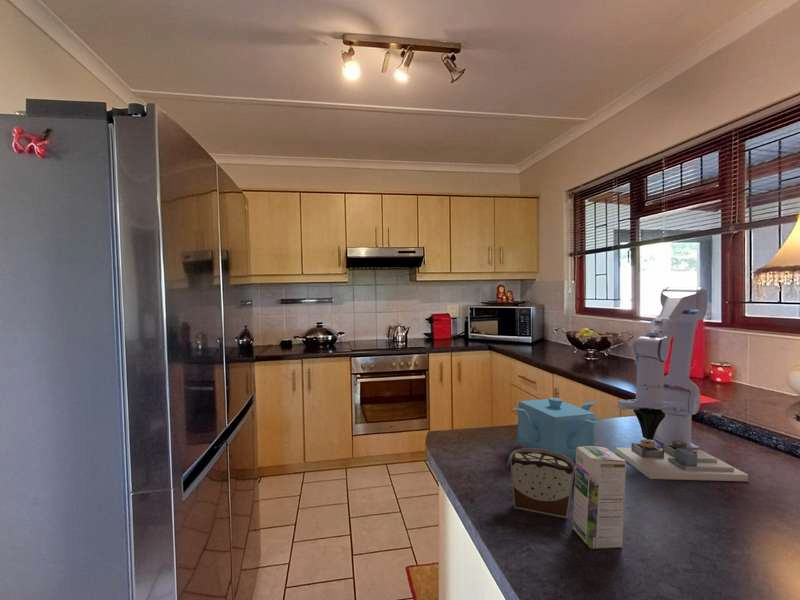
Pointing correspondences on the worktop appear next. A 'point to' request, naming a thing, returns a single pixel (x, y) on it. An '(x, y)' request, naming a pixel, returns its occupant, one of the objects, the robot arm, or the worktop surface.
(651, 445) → the copper button
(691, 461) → the block
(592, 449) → the syrup box
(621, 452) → the control panel
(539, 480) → the food container
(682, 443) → the black button
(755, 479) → the worktop surface
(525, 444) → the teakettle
